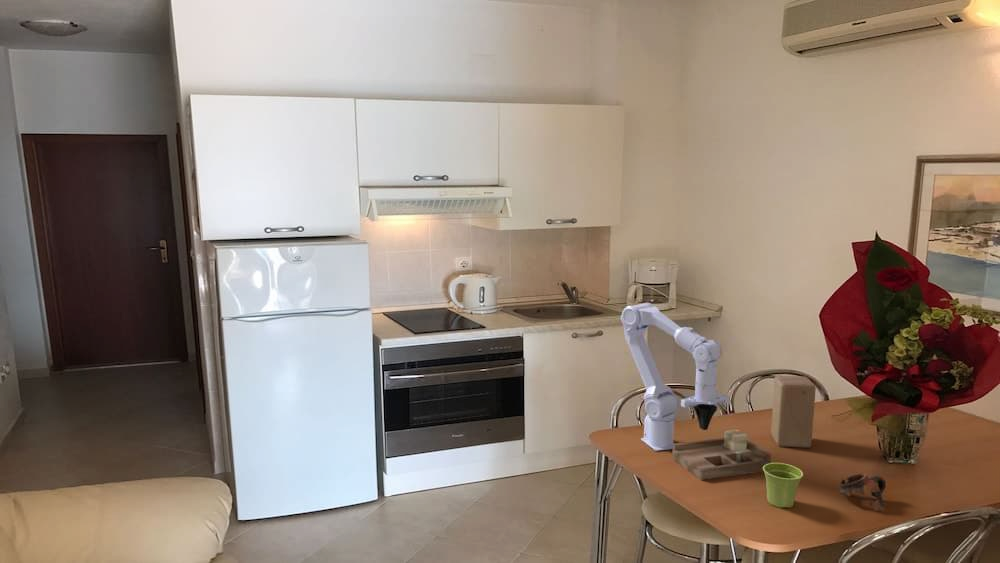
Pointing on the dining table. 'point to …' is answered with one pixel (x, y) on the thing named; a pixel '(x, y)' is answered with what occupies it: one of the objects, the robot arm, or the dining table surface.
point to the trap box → (719, 458)
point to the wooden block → (793, 411)
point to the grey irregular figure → (858, 484)
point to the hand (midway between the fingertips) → (703, 428)
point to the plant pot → (782, 483)
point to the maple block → (735, 440)
